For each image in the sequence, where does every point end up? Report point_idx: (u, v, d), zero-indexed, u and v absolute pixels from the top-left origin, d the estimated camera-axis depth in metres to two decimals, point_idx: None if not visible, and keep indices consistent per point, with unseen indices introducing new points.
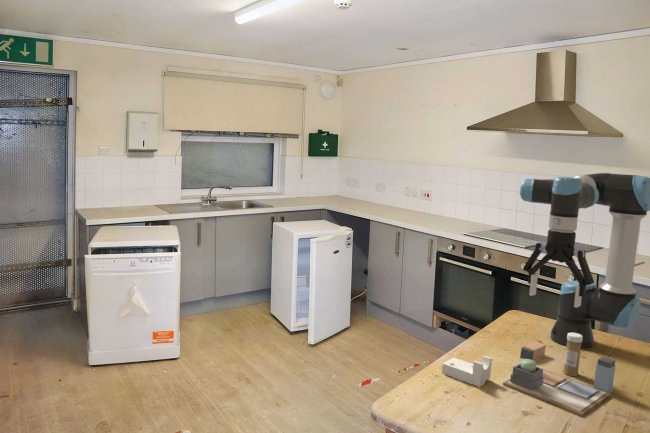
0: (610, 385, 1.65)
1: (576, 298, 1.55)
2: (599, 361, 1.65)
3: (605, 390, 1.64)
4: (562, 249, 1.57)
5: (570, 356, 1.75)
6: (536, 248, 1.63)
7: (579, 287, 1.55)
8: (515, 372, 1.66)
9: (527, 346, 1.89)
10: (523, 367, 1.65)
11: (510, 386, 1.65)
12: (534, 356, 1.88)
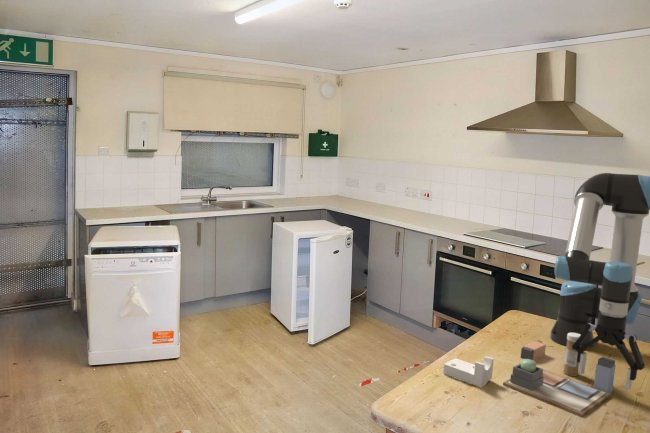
0: (610, 385, 1.65)
1: (627, 382, 1.59)
2: (599, 361, 1.65)
3: (605, 390, 1.64)
4: (613, 333, 1.62)
5: (570, 356, 1.75)
6: (586, 329, 1.68)
7: (630, 371, 1.59)
8: (515, 372, 1.66)
9: (527, 346, 1.90)
10: (523, 367, 1.65)
11: (510, 386, 1.65)
12: (534, 356, 1.88)
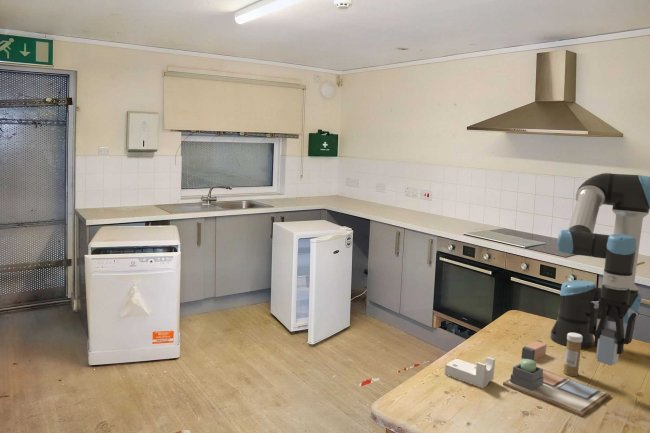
0: None
1: (614, 356, 1.62)
2: (603, 332, 1.64)
3: (609, 361, 1.63)
4: (618, 306, 1.60)
5: (570, 356, 1.75)
6: (591, 308, 1.66)
7: (617, 346, 1.62)
8: (515, 372, 1.66)
9: (528, 346, 1.90)
10: (523, 367, 1.65)
11: (510, 386, 1.65)
12: (535, 355, 1.88)
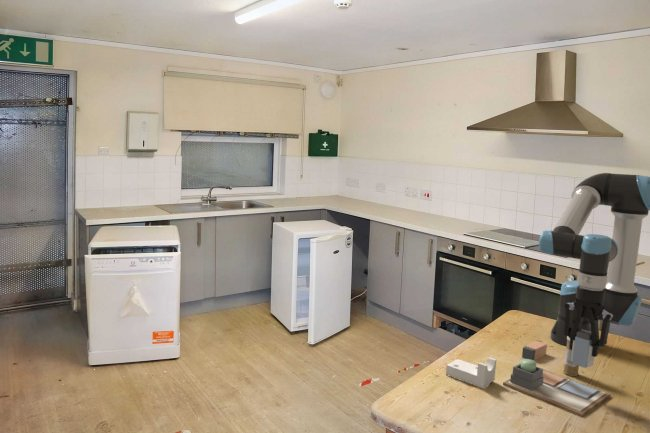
0: None
1: (589, 358, 1.59)
2: (578, 333, 1.61)
3: (584, 363, 1.60)
4: (593, 307, 1.58)
5: (570, 356, 1.75)
6: (566, 309, 1.64)
7: (592, 348, 1.59)
8: (515, 372, 1.66)
9: (528, 345, 1.90)
10: (523, 367, 1.65)
11: (510, 386, 1.65)
12: (536, 355, 1.88)
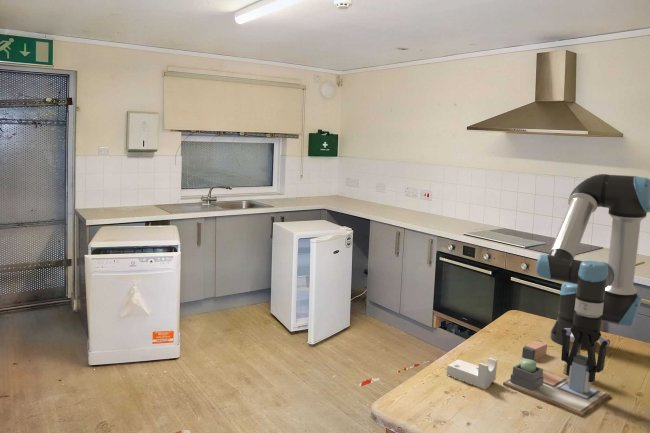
0: None
1: (586, 384, 1.61)
2: (575, 359, 1.62)
3: (581, 388, 1.61)
4: (590, 334, 1.59)
5: None
6: (563, 334, 1.65)
7: (588, 374, 1.60)
8: (515, 372, 1.66)
9: (529, 345, 1.90)
10: (523, 367, 1.65)
11: (510, 386, 1.65)
12: (536, 355, 1.88)
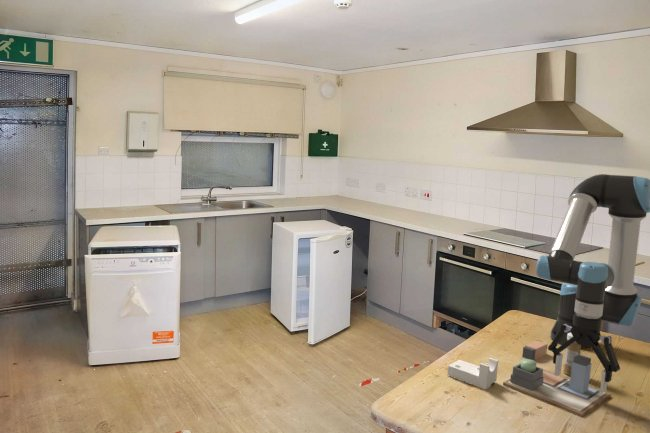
0: (586, 383, 1.62)
1: (602, 383, 1.57)
2: (575, 359, 1.62)
3: (581, 388, 1.61)
4: (588, 334, 1.60)
5: (570, 356, 1.75)
6: (561, 330, 1.65)
7: (605, 373, 1.57)
8: (515, 372, 1.66)
9: (529, 345, 1.90)
10: (523, 367, 1.65)
11: (510, 386, 1.65)
12: (536, 355, 1.89)
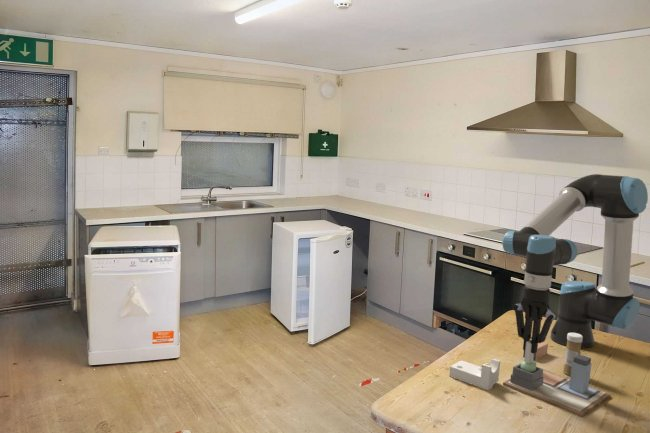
0: (586, 383, 1.62)
1: (528, 355, 1.64)
2: (575, 359, 1.62)
3: (581, 388, 1.61)
4: (539, 307, 1.61)
5: (570, 356, 1.75)
6: (515, 310, 1.66)
7: (531, 345, 1.63)
8: (515, 372, 1.66)
9: None
10: (523, 368, 1.65)
11: (510, 386, 1.65)
12: (537, 355, 1.89)
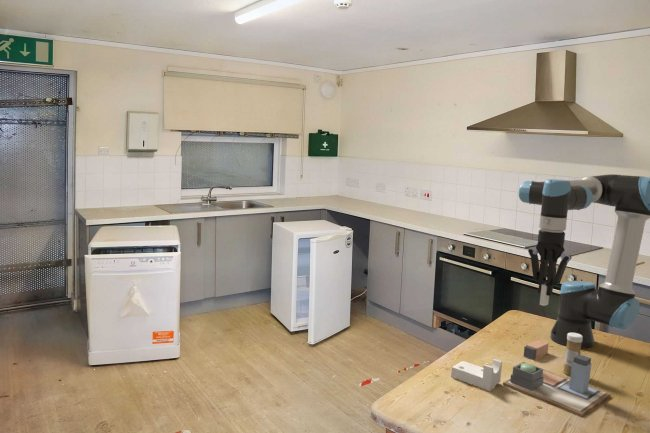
0: (586, 383, 1.62)
1: (544, 297, 1.68)
2: (575, 359, 1.62)
3: (581, 388, 1.61)
4: (554, 249, 1.64)
5: (570, 356, 1.75)
6: (531, 254, 1.70)
7: (546, 287, 1.67)
8: (515, 372, 1.66)
9: (530, 345, 1.91)
10: None
11: (510, 386, 1.65)
12: (537, 354, 1.89)
